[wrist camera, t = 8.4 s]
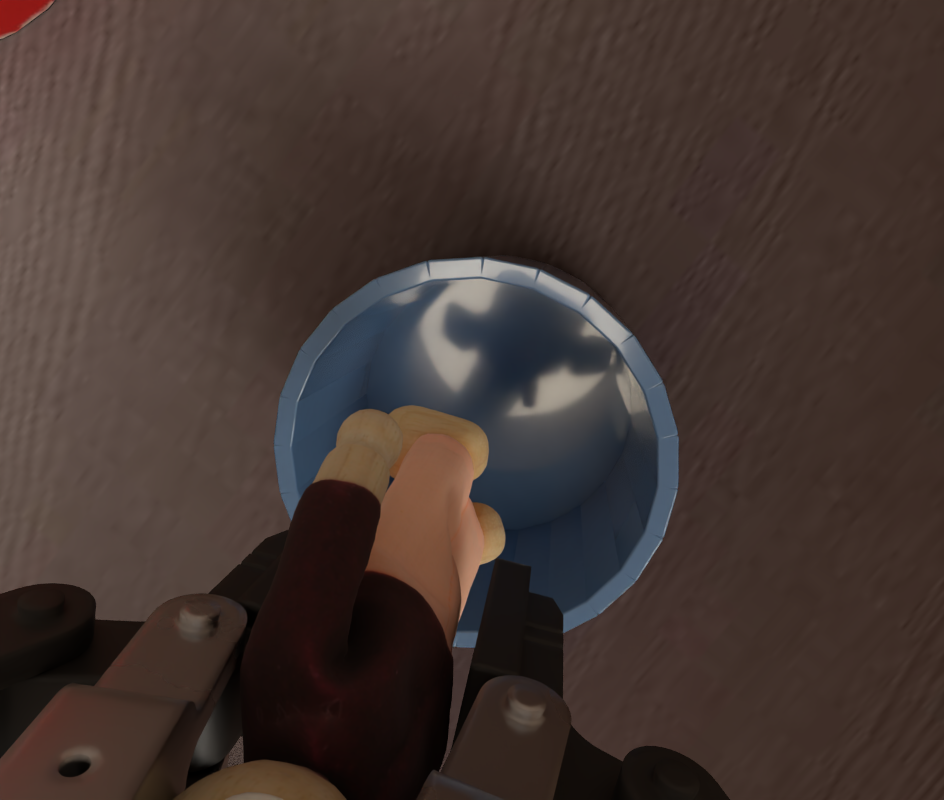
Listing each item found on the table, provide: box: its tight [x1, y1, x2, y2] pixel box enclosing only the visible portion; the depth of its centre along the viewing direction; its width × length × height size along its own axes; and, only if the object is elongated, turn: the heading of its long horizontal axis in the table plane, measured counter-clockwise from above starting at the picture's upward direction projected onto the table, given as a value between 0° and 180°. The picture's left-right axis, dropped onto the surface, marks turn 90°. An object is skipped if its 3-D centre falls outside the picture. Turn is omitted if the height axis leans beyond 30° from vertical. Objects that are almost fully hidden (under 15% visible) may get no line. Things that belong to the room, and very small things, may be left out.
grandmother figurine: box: [173, 405, 505, 800], centre depth 10 cm, size 8×4×13 cm, turn 19°
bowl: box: [274, 255, 679, 648], centre depth 24 cm, size 12×12×8 cm
